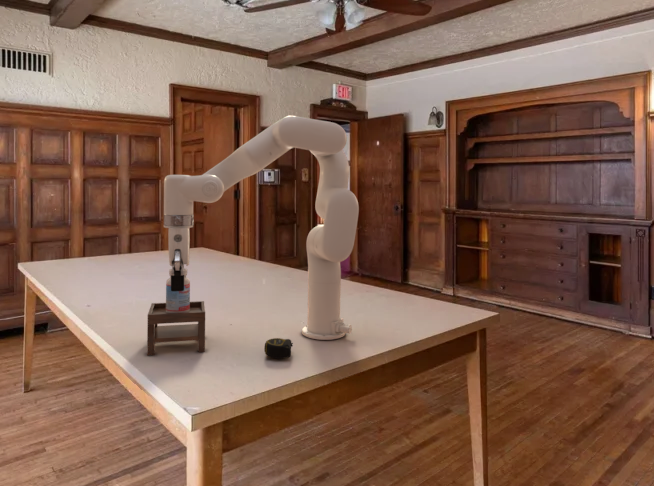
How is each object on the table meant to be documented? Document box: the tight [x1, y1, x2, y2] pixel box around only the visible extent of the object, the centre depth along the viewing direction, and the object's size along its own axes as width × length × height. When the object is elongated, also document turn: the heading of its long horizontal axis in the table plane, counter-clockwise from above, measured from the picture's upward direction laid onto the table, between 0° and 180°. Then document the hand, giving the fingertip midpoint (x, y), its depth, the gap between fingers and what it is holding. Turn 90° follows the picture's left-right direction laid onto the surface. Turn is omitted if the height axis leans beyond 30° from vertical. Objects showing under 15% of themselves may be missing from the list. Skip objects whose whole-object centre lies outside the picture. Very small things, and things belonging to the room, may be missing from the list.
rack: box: [146, 300, 206, 356], centre depth 122 cm, size 14×12×10 cm
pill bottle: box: [165, 267, 191, 313], centre depth 122 cm, size 6×6×11 cm
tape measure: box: [264, 337, 294, 359], centre depth 116 cm, size 7×7×4 cm
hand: (178, 286), depth 122 cm, fingers open, 8 cm apart
